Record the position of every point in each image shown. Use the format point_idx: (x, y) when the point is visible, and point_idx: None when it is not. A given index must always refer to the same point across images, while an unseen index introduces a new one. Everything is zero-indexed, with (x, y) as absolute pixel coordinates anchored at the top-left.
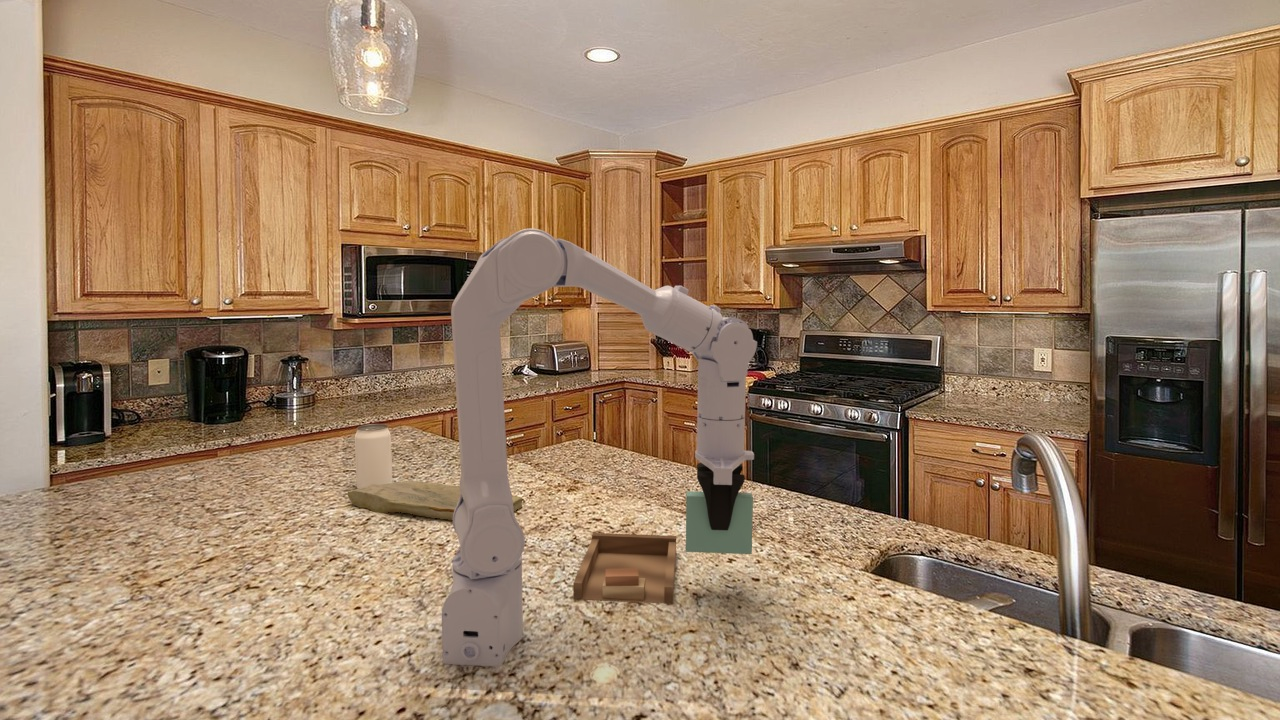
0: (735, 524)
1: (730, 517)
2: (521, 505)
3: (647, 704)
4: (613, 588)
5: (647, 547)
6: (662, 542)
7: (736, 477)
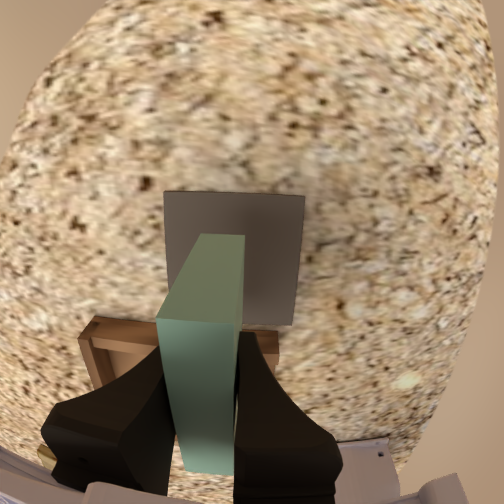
0: (239, 318)
1: (261, 353)
2: (41, 446)
3: (459, 340)
4: None
5: (106, 368)
6: (96, 355)
7: (302, 473)
